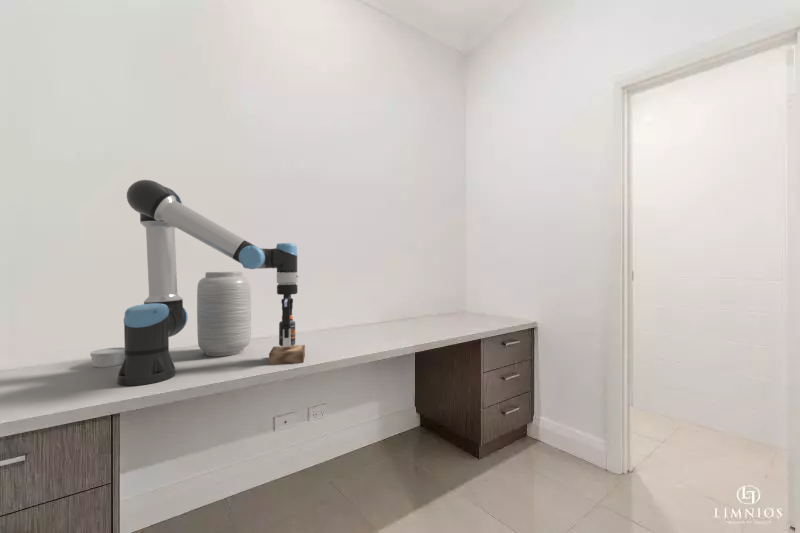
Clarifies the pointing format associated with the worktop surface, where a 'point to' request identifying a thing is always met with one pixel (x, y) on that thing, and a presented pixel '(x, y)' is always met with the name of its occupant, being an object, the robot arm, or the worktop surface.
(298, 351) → the plinth
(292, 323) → the pill bottle
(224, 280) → the vase
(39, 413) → the worktop surface
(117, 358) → the ramekin
